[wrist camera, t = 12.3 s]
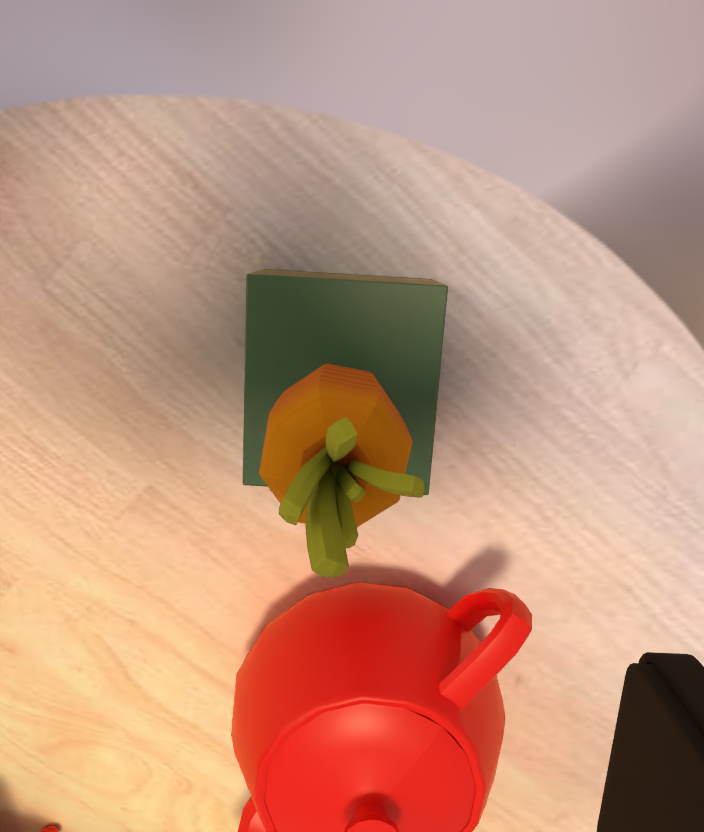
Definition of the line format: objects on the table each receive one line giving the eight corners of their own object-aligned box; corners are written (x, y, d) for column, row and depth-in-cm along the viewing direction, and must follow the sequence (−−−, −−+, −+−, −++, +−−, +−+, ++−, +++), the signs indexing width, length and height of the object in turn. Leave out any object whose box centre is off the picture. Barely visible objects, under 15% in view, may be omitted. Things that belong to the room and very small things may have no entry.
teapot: (398, 462, 38) (419, 560, 26) (587, 621, 40) (685, 775, 29) (138, 742, 43) (56, 932, 31) (323, 868, 45) (313, 1089, 33)
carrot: (324, 315, 30) (299, 380, 15) (414, 374, 31) (473, 491, 16) (266, 404, 31) (191, 545, 16) (354, 460, 32) (359, 643, 17)
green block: (263, 269, 35) (246, 273, 29) (432, 279, 35) (448, 285, 30) (259, 448, 38) (242, 485, 32) (416, 457, 38) (428, 495, 32)
